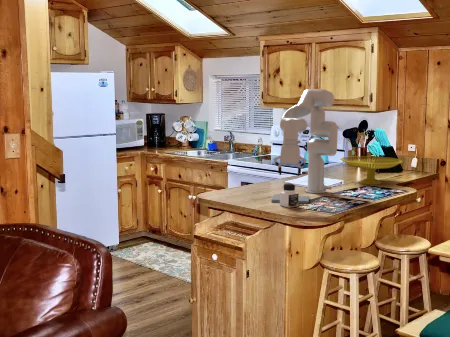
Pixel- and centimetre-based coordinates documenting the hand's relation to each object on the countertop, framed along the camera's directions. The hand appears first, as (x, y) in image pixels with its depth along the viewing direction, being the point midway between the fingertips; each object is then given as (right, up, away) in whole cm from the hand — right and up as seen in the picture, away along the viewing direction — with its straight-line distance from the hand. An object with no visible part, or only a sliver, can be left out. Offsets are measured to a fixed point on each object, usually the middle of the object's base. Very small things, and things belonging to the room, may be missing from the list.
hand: (289, 175), depth 314 cm
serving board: (+2, -14, +16) cm, 22 cm away
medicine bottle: (0, -17, +3) cm, 17 cm away
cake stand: (+62, -6, +78) cm, 99 cm away
